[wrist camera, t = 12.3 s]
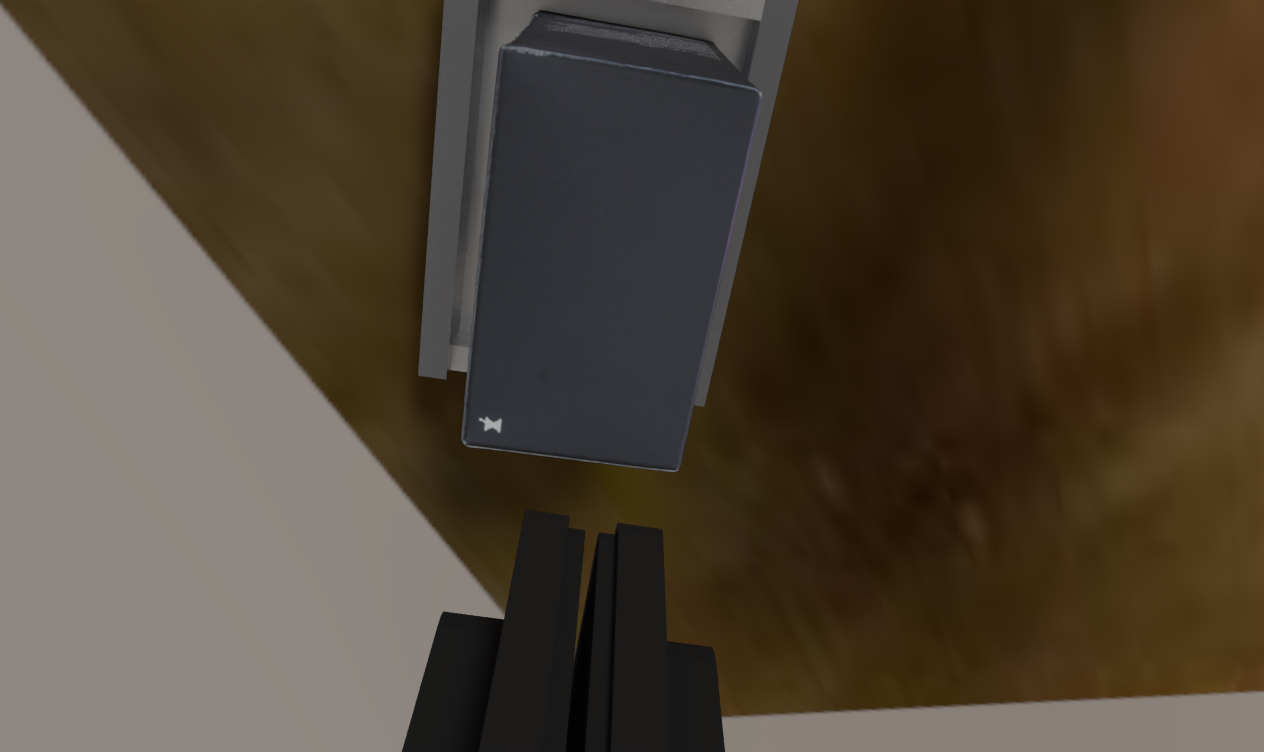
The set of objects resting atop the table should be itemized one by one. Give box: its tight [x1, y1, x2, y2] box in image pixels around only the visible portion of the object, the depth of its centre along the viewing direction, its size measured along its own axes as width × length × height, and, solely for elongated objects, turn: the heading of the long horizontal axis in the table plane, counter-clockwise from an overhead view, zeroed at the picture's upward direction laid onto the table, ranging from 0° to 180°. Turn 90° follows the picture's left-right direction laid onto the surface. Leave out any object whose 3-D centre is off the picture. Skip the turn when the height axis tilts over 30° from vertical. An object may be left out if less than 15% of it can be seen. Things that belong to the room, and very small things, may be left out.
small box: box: [461, 10, 763, 472], centre depth 27 cm, size 11×6×10 cm, turn 171°
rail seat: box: [418, 0, 798, 407], centre depth 31 cm, size 10×14×3 cm
